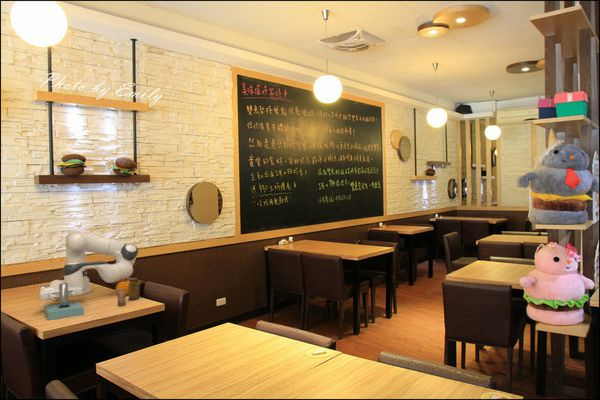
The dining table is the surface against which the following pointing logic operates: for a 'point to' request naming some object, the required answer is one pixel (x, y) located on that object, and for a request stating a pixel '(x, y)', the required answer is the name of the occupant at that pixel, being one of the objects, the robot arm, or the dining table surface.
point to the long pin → (63, 295)
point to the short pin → (121, 297)
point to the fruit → (123, 286)
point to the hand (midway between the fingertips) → (63, 295)
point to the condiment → (133, 289)
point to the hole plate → (63, 310)
